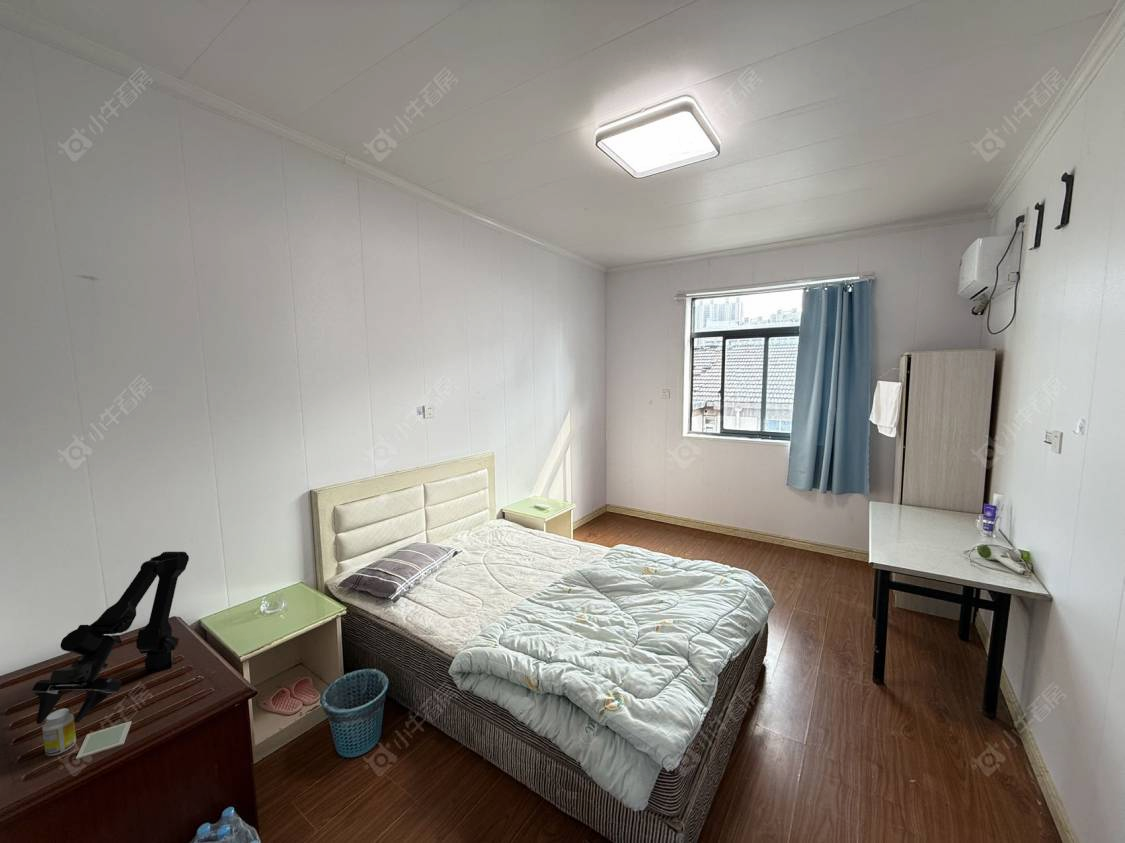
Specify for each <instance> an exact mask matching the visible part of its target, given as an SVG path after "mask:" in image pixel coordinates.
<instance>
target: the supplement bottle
mask: <svg viewBox="0 0 1125 843" xmlns="http://www.w3.org/2000/svg"><path fill="white" fill-rule="evenodd" d="M69 711H70V710H69V709H68V708H66V707H65V708H60V709H57V710H54V711H53V712H52V711H51V712H50V713H49V714H48V716H47V717H46V718H45V720H46V722H45V723H44V724H43V726H42V737H43V745H44V754H45V755H46V756H49V757H50V756H51V757H52V756H57V755H60V754H62V753H64V752H66V751H68V750H70V749H71V748H73V746H75V744H76V742H77V735H76V733H77V732H76V727H75V726H76V725H75V724H76V723H74V721H75V717H74V713H73V714H72V713H70V712H69Z"/></svg>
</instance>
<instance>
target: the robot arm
mask: <svg viewBox="0 0 1125 843" xmlns="http://www.w3.org/2000/svg"><path fill="white" fill-rule="evenodd" d="M189 561H190V556H189V555H188V553H187V552H186V551H163V552H161V554H159V555H157V556H153V557H151V558H150V559H149V560H146V561H144V562H143V563H142V564H141V566H140V569H139V571H138V572H137V574H136V575H135V577H134V578H133V579H132V581H131V582H130V584H129V586H128V587H127V588H126V589H125V591H124V593H123V594H122V595H121V597H120V598H119V599H118V600H117V601H116V602H115V603H114V604H113V605H111V606H110V607H108V608H107V609H106V610H105V611H103V612H102V614H101V615H100V616H99V617H98V618H97V619H96V620H95V621H94V622H92V623H91V624H79V625H78V627H77V628H76V629H73V630H72V631H70V632H69V633H67V634H66V635H65V636H64V637H63V638H62V639H61V642H60V648H61V650H62V651H65V652H69V653H72V654H76V655H80V656H81V657H80V658H79V659H78V660H77V659H76V660H74V661H73V662H72V664H71V665H70V666H64V667H61V668H57V669H52V671H51V674H50V677H49V679H40V680H39V681H37V682H35V683H34V685H33V687H32V688H31V690H30V692H34V693H33V694H34V696H37V698H38V700H39V705H38V706H39V707H38V712H37V716H36V717H37V718H36V723H35V724H36V725H41V724H42V723H43V722H44V721H45V720H46V717H47V716H48V715H49V714H51V713H52V710H53V709H54V708H55V706H56V705H57V704H58V703H59V701H60V700H61V698H62V697H63V694H61V693H63V692H64V691H81V690H84V691H85V690H86V694H85V696H86V697H85V700H84V702H83V703H82V705H81V707H80V709H79V711H78V713H77V714H76V717H75V718H74V724H78V723H80V721H82V720H83V719H84V718H85V717H86V716H87V715H89V713H90V712H91V711H92V710H94V709H95V707H97V706H98V705H99V704H100V703H101V702H103V701H104V700H106V698H108V697H110V696H112V695H113V693H118V692H119V691H120V689H121V687H122V680H120V679H116V678H111V677H108V678H107V677H105V678H101V677H100V678H99V674H100V673H101V671H102V669H104V668H105V669H107V667H108V666H109V665H108V663H106V662H107V660H108V658H109V656H110V655H111V652H112V651H113V649H114V647H115V646H116V645H121V644H122V643H123V641H122V639H121V637H120V636H121V635H118V634H123V633H124V632H127V631H128V630H129V629H130V627H131V626H132V624H133V623H134V620H135V619H136V617H137V607H138V605H139V603H140V602H141V600H142V599H143V598H144V596H145V594H146V593H147V592H148V590H149V589H150V588H151V586H152V585H153V583H154V581H155V580H156V579H157V577H158V582H157V586H156V590H155V594H154V598H153V603H152V607H151V612H150V617H149V621H148V623H147V624H146V626H144V628H141V629H139V631H138V633H137V638H136V641H135V643H136V644H135V647H136V649H137V650H138V651H139V653H140V654H142V655H143V654H146V655H145V658H144V666H145V668H144V669H145V671H146V672H145V674H146V675H149V674H153V673H157V672H160V671H164V670H167V669H172V667H173V664H174V662H175V656H174V650H176V647H177V646H179V641H180V639H179V638H178V637H175V636H172V633H173V628H172V626H171V624H170V621H169V618H170V615H171V614H170V613H171V609H172V605H173V600H174V596H175V591H176V587H177V583H178V578H179V577H180V576H181V575H182V574H183V573H184V571H186V569H187V565H188V563H189Z"/></svg>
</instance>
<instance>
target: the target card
mask: <svg viewBox="0 0 1125 843" xmlns="http://www.w3.org/2000/svg"><path fill="white" fill-rule="evenodd" d="M131 724H132V720H130V721H126V722H123V723H120V724H116V725H113V726H111V727H107V728H103V729H101V730H97V731H94V732H91V733H87V734H86V736H85V738H84V740H83V743H82V744H81V746H80V749H79V751H78V753H77V755H76V757H75V760H79V759H83V758H85V757H89V756H92V755H95V754H98V753H101V752H104V751H107V750H111V749H113V748H117V747H119V746H123V745H124V744H125V742H126V738H127V736H128V734H129V732H130V731H129V730H130V728H131Z"/></svg>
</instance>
